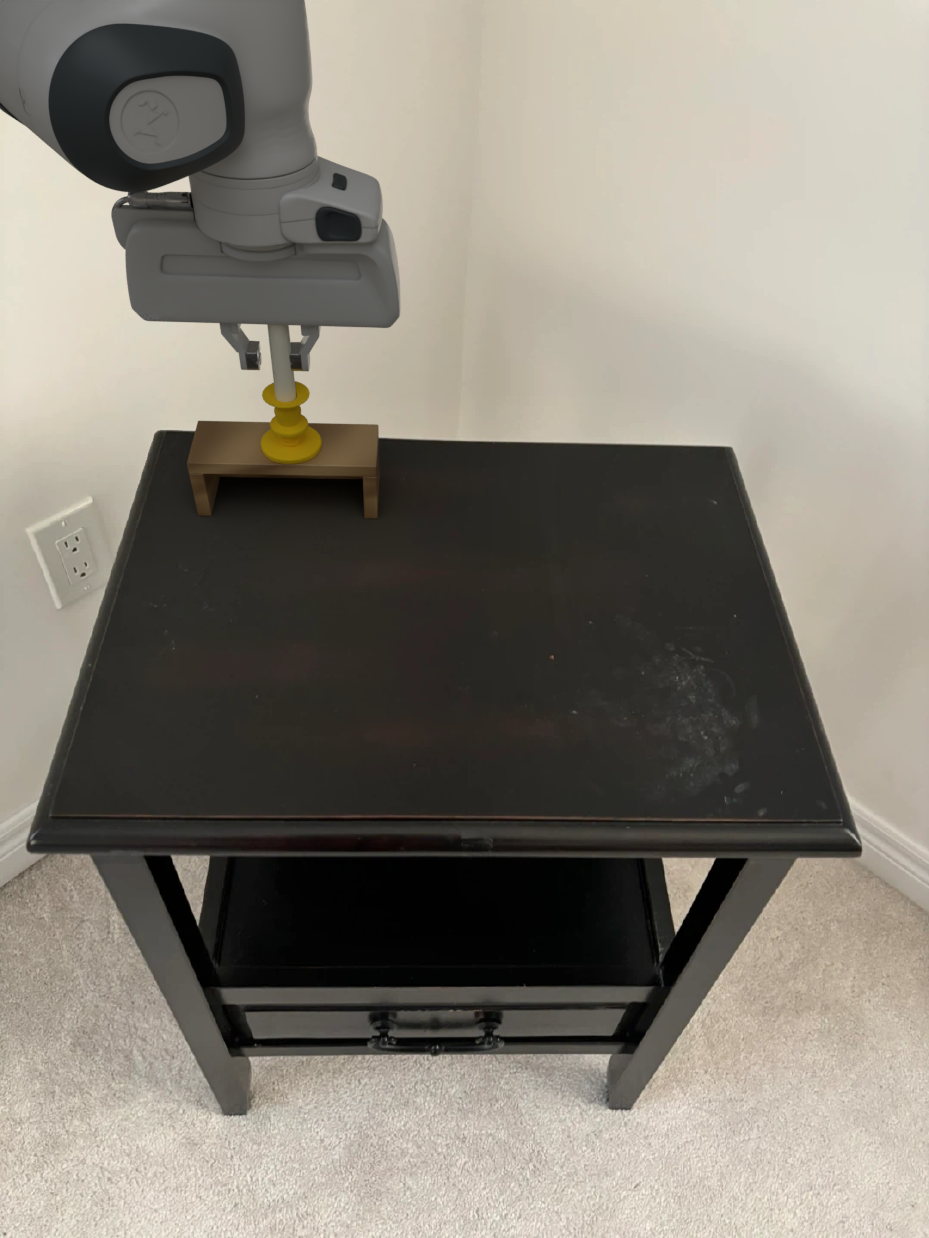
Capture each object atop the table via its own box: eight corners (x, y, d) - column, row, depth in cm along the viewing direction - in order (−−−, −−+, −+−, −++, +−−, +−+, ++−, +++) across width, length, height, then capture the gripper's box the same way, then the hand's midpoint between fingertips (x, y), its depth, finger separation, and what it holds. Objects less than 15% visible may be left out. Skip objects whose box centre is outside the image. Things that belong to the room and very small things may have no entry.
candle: (261, 467, 79) (237, 296, 67) (260, 429, 82) (237, 261, 71) (323, 462, 80) (310, 293, 68) (319, 426, 83) (306, 259, 71)
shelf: (198, 516, 83) (186, 462, 79) (208, 473, 87) (197, 420, 83) (377, 518, 84) (376, 466, 80) (379, 476, 88) (378, 424, 84)
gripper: (94, 210, 62) (137, 386, 73) (399, 221, 64) (399, 392, 74) (115, 170, 67) (153, 342, 77) (401, 181, 68) (401, 349, 78)
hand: (276, 367), depth 75 cm, fingers closed
